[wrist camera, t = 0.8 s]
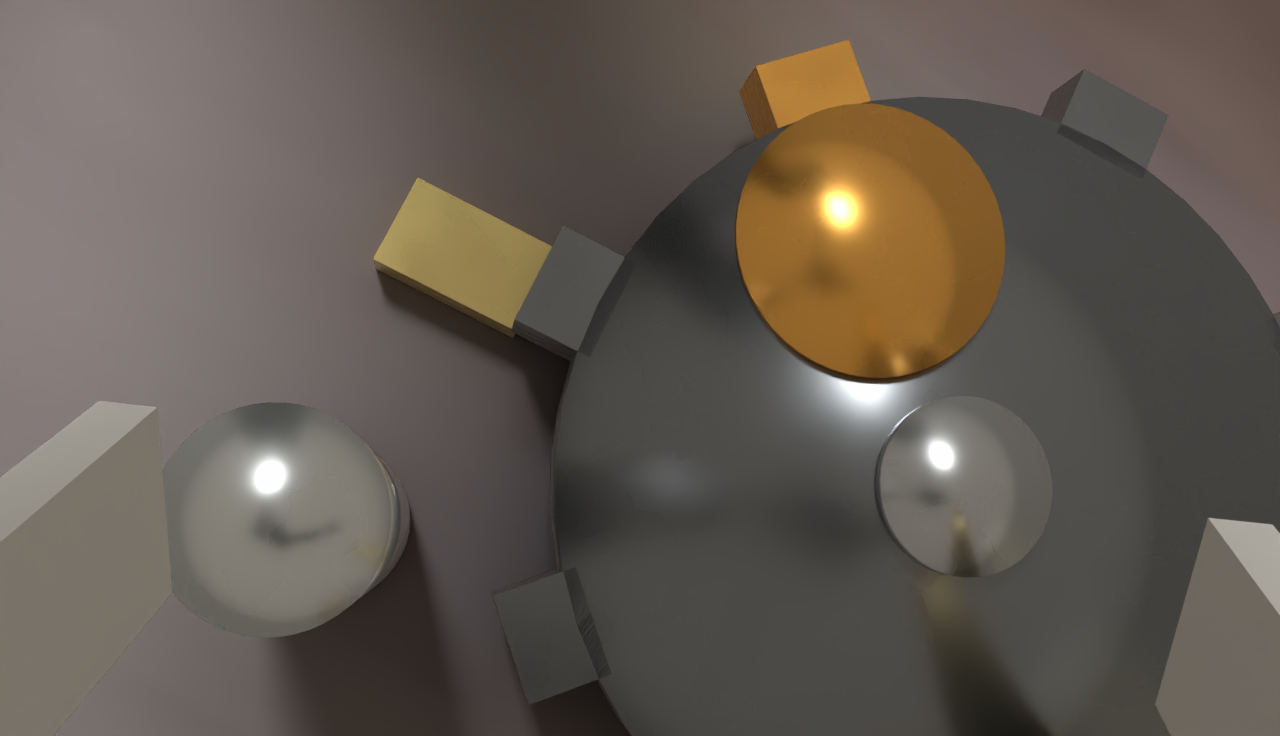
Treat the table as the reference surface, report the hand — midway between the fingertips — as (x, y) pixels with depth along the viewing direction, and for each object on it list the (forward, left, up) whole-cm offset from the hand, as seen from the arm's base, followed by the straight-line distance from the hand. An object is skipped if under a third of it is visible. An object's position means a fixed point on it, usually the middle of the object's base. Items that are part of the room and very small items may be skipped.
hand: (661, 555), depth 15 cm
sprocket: (-5, +8, -15) cm, 18 cm away
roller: (+2, -5, -16) cm, 17 cm away
